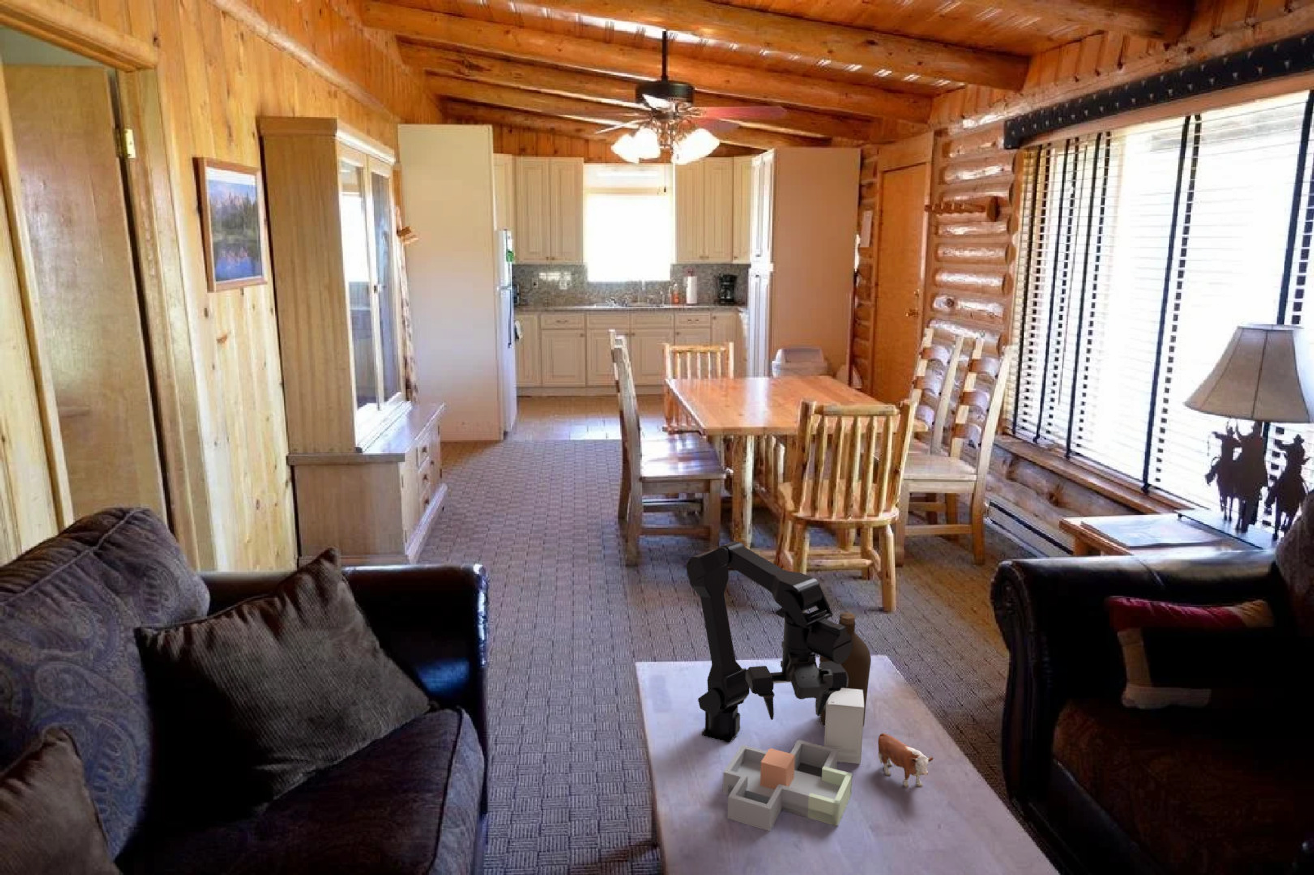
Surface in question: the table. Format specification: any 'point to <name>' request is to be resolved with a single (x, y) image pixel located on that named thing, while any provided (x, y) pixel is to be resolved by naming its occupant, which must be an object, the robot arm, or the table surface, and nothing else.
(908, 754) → the bull figurine
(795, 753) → the trap lane
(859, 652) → the olive oil
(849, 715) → the supplement box
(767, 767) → the block
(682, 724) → the table surface
